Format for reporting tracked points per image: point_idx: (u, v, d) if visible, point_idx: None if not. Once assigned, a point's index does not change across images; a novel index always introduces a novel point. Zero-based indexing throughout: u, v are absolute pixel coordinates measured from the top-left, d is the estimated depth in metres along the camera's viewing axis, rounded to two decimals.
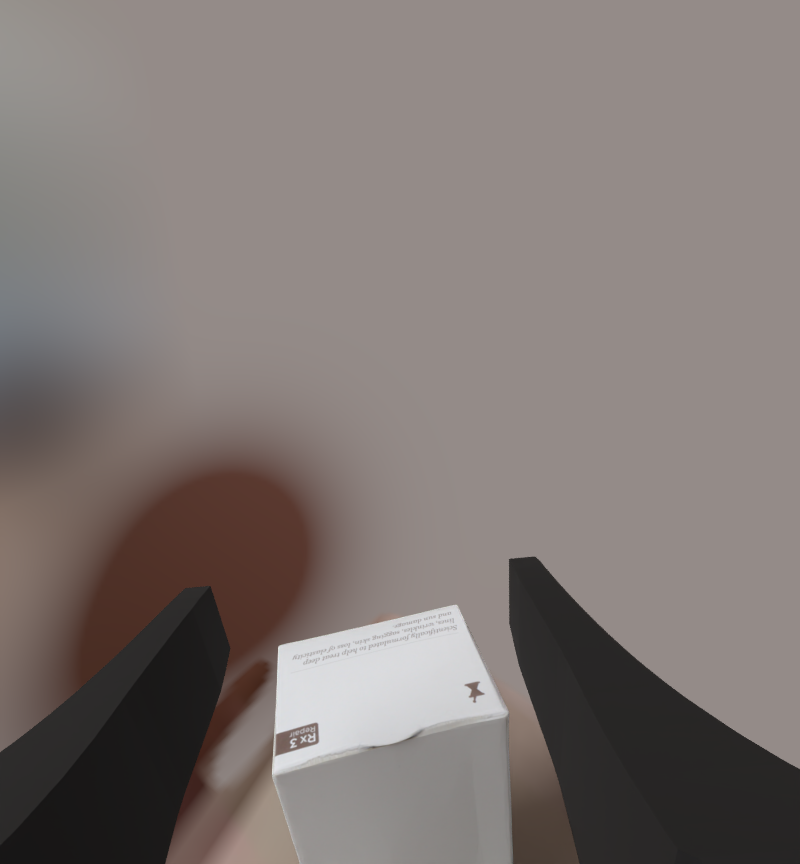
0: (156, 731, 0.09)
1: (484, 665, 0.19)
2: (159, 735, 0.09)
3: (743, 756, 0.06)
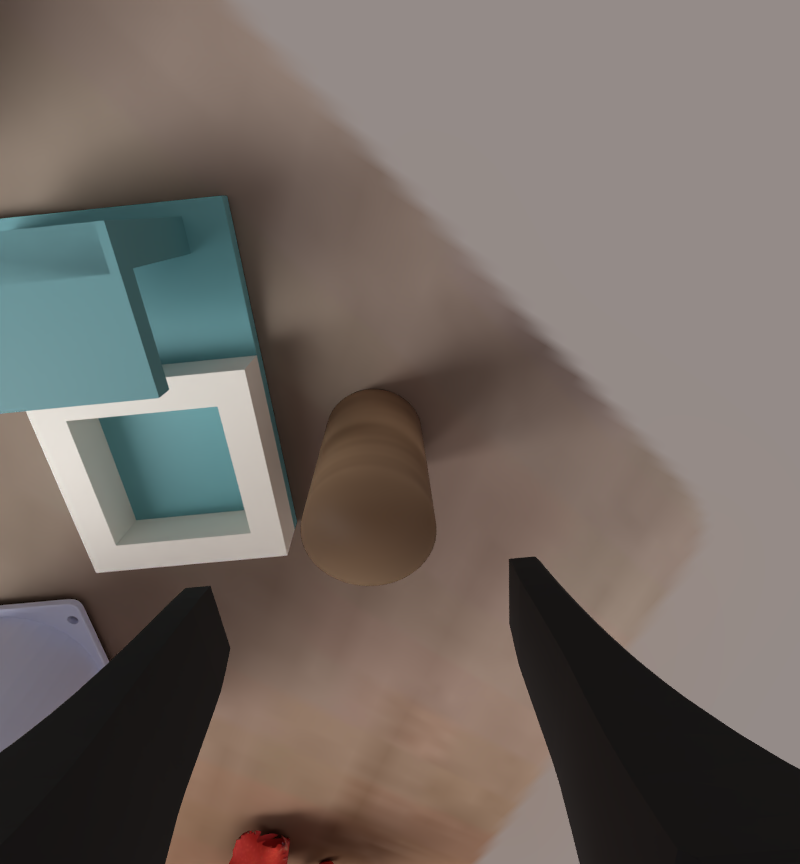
0: (156, 731, 0.09)
1: None
2: (159, 735, 0.09)
3: (743, 756, 0.06)
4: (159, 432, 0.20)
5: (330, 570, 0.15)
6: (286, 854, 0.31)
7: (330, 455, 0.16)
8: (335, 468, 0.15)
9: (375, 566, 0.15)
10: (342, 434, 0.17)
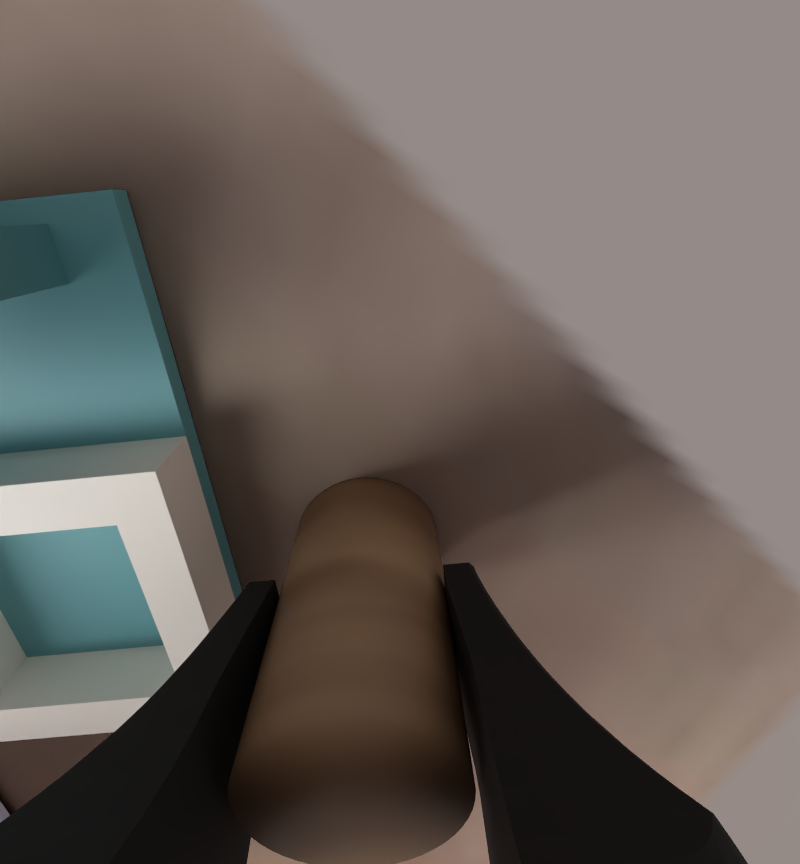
0: (237, 724, 0.09)
1: None
2: (240, 728, 0.09)
3: (616, 766, 0.06)
4: (46, 544, 0.14)
5: (286, 849, 0.09)
6: None
7: (289, 636, 0.09)
8: (291, 683, 0.08)
9: (365, 843, 0.09)
10: (311, 584, 0.10)
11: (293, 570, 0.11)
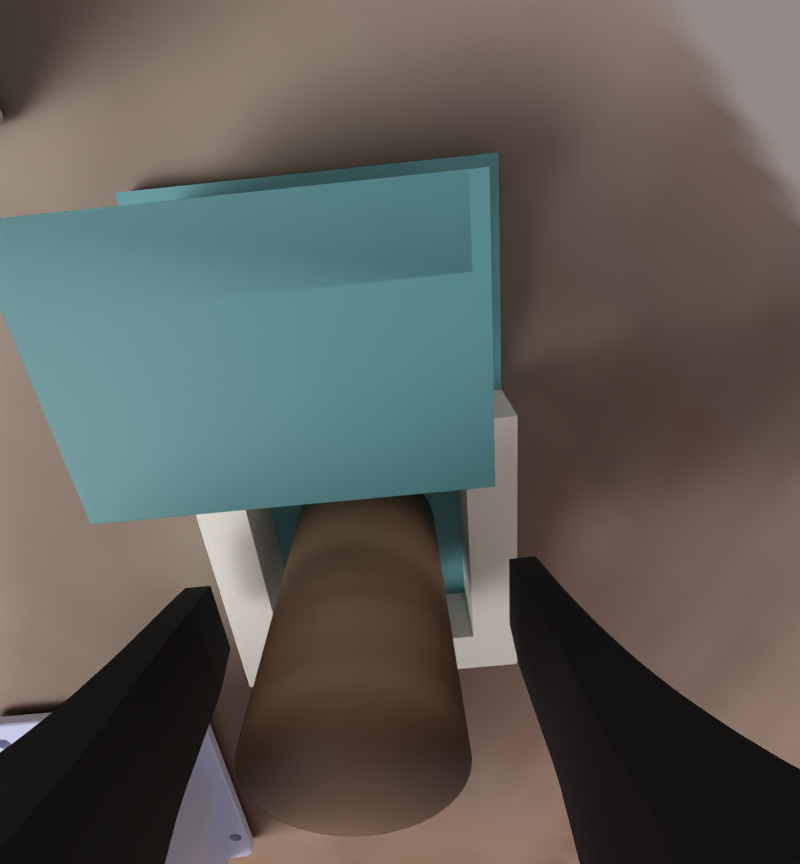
0: (156, 731, 0.09)
1: None
2: (159, 735, 0.09)
3: (743, 756, 0.06)
4: None
5: (290, 818, 0.09)
6: None
7: (292, 614, 0.10)
8: (296, 656, 0.09)
9: (366, 811, 0.09)
10: (313, 566, 0.11)
11: (295, 555, 0.12)
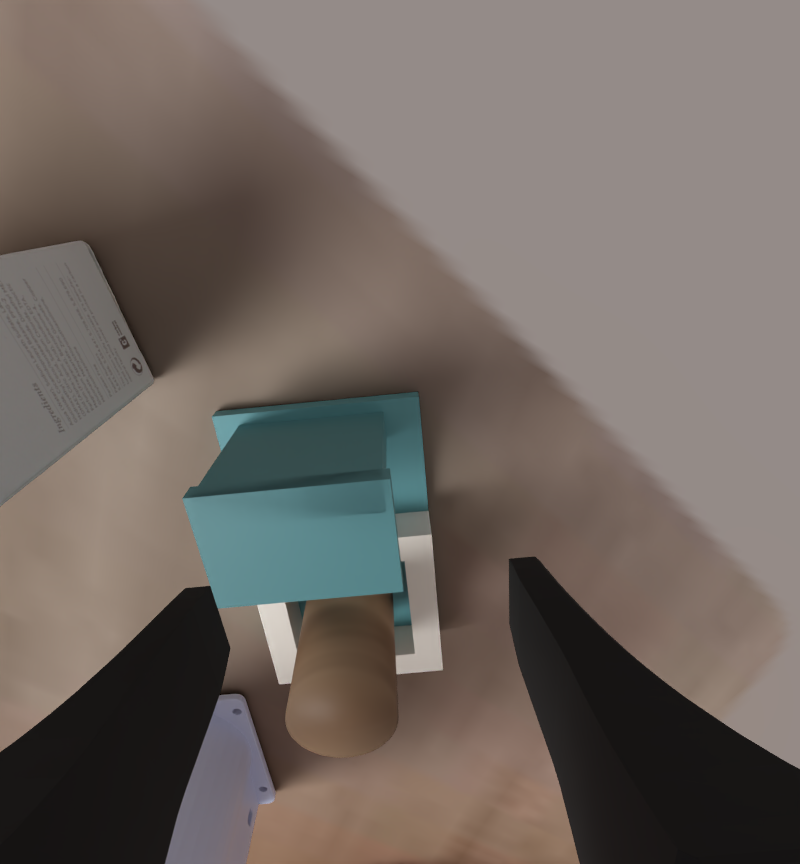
0: (156, 731, 0.09)
1: None
2: (159, 735, 0.09)
3: (743, 756, 0.06)
4: None
5: (308, 746, 0.18)
6: None
7: (312, 644, 0.19)
8: (316, 665, 0.18)
9: (346, 743, 0.18)
10: (323, 617, 0.20)
11: (311, 608, 0.21)
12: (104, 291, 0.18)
